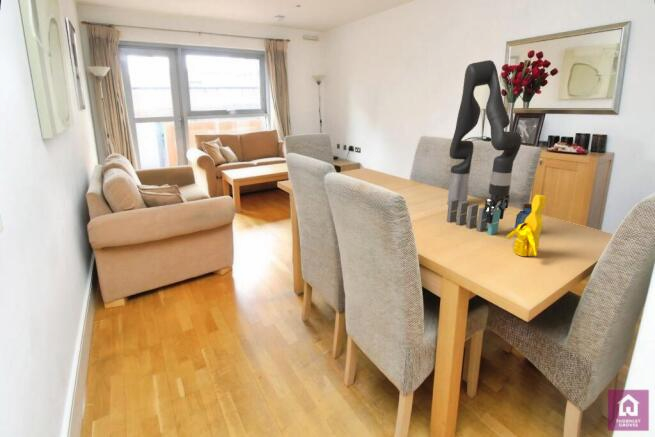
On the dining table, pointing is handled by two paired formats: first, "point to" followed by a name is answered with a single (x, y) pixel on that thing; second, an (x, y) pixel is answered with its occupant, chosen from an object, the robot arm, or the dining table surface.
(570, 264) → the dining table surface
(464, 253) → the dining table surface
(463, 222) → the tile
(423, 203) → the dining table surface
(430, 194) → the dining table surface
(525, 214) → the perfume bottle
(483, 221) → the tile
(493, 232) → the end tile
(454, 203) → the tile
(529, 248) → the figure statuette
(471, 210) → the tile
